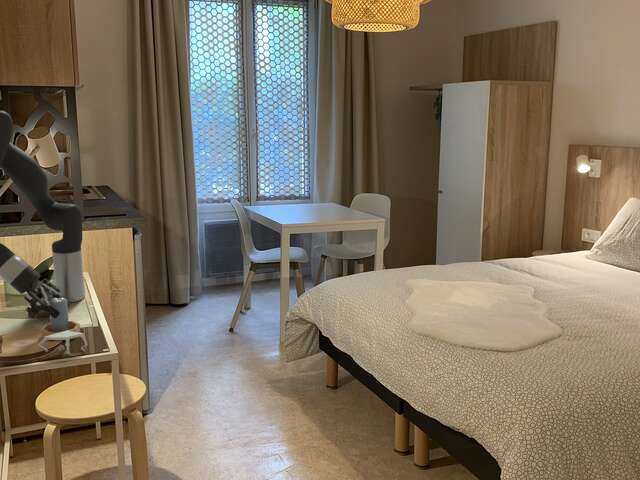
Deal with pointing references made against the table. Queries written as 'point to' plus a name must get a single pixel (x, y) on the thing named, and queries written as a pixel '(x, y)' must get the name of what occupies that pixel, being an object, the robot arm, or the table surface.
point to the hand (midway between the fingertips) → (62, 311)
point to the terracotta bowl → (47, 331)
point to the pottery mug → (33, 311)
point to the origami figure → (64, 338)
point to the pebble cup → (62, 320)
